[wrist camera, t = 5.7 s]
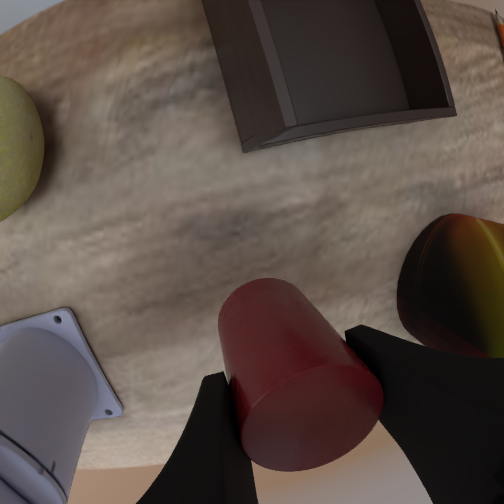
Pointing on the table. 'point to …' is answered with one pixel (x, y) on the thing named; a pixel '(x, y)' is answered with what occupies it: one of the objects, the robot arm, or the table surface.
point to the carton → (344, 66)
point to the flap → (258, 68)
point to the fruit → (18, 146)
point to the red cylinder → (293, 379)
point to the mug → (455, 286)
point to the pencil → (500, 28)
